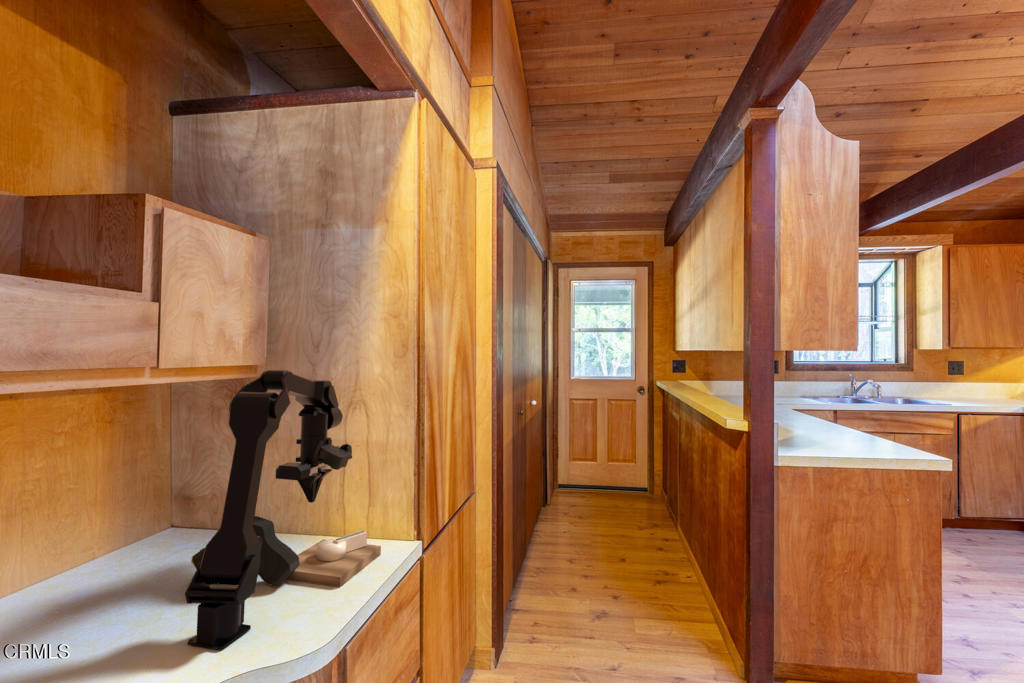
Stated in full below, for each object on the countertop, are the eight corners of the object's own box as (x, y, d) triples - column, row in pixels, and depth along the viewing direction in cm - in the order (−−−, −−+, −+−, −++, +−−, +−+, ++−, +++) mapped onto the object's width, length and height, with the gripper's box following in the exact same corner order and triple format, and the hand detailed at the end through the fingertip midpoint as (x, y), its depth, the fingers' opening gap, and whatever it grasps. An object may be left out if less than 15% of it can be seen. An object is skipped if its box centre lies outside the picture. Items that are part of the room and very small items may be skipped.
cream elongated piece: (326, 563, 104) (326, 548, 104) (311, 556, 107) (311, 541, 108) (372, 547, 113) (372, 533, 113) (356, 541, 116) (357, 527, 117)
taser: (294, 575, 96) (254, 510, 98) (225, 622, 98) (186, 558, 99) (305, 566, 101) (267, 504, 102) (239, 611, 102) (202, 549, 103)
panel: (340, 587, 98) (341, 576, 98) (274, 578, 101) (274, 568, 101) (381, 554, 115) (381, 545, 115) (323, 547, 118) (323, 538, 118)
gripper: (321, 442, 104) (318, 517, 103) (365, 430, 122) (363, 494, 121) (275, 439, 106) (272, 513, 105) (325, 428, 124) (323, 490, 124)
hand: (311, 502), depth 114 cm, fingers closed
